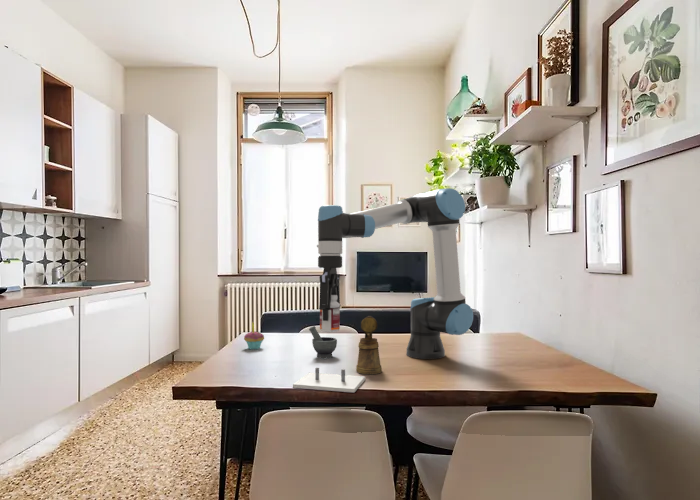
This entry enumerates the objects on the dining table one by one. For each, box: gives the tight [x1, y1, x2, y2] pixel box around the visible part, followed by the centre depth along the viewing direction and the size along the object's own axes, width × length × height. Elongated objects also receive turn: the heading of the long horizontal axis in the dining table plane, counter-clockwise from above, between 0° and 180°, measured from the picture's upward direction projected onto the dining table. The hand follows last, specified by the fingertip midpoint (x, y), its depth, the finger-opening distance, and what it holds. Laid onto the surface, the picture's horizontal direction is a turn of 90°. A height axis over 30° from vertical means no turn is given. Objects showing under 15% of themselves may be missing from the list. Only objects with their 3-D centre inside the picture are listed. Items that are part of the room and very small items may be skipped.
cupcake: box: [243, 322, 265, 350], centre depth 189 cm, size 9×8×12 cm
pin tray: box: [292, 367, 366, 394], centre depth 136 cm, size 19×14×4 cm
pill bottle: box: [319, 295, 341, 333], centre depth 136 cm, size 6×6×11 cm
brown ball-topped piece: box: [355, 315, 383, 375], centre depth 153 cm, size 9×14×18 cm, turn 176°
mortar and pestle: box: [308, 325, 338, 359], centre depth 173 cm, size 11×9×12 cm
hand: (329, 329), depth 136 cm, fingers closed on pill bottle, 6 cm apart
